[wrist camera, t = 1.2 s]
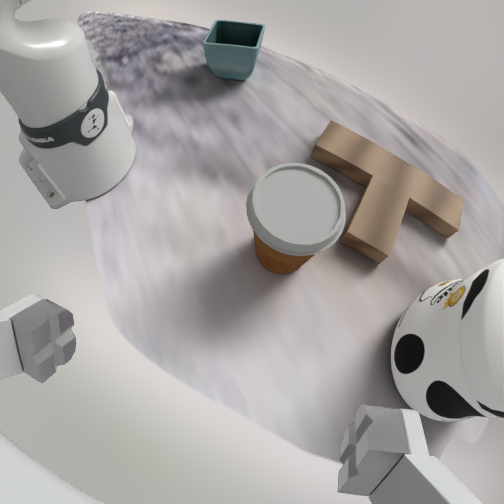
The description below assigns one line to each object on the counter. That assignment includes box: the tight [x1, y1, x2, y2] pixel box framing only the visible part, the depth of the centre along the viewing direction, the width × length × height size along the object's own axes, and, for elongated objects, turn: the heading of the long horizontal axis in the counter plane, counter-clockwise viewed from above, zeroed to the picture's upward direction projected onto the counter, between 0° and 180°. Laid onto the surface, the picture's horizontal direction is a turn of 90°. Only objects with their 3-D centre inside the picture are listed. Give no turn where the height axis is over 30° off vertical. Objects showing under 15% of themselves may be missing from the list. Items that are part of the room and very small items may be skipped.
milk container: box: [391, 258, 504, 422], centre depth 28 cm, size 17×17×18 cm
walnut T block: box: [311, 121, 464, 264], centre depth 42 cm, size 24×16×3 cm, turn 60°
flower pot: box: [203, 20, 265, 80], centre depth 48 cm, size 9×9×9 cm
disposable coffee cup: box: [246, 163, 346, 274], centre depth 35 cm, size 10×10×12 cm
